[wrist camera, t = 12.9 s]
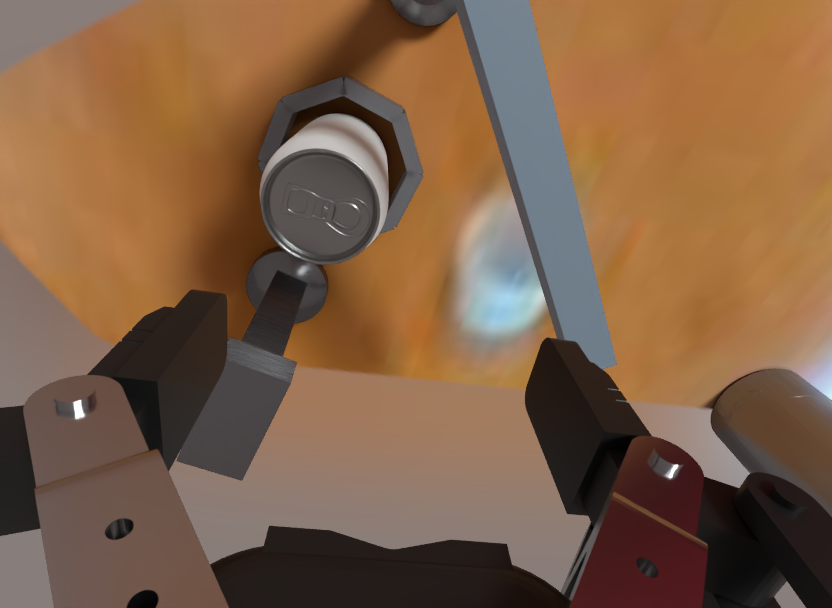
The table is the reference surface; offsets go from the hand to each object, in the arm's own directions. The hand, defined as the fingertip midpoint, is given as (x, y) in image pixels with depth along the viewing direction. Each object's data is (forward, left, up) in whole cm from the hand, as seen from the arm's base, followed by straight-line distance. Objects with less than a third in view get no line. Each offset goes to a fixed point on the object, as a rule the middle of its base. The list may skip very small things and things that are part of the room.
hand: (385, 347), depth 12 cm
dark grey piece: (+3, +12, -24) cm, 27 cm away
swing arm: (-4, -5, -10) cm, 12 cm away
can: (+3, +1, -24) cm, 24 cm away
